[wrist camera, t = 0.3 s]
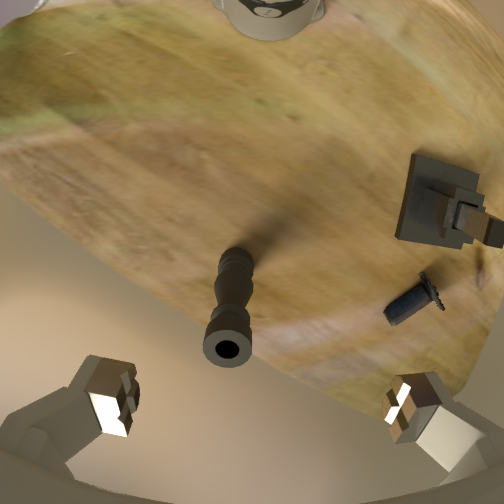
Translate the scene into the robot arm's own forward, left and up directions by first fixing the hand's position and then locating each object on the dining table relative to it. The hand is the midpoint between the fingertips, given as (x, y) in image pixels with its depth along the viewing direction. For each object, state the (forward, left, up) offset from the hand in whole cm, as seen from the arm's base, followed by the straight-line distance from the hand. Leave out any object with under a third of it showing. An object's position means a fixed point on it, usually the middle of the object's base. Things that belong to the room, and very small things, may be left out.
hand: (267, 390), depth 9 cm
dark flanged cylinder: (+20, +35, -48) cm, 62 cm away
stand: (-1, +36, -47) cm, 59 cm away
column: (-1, +36, -45) cm, 57 cm away
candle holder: (+16, -1, -48) cm, 50 cm away
